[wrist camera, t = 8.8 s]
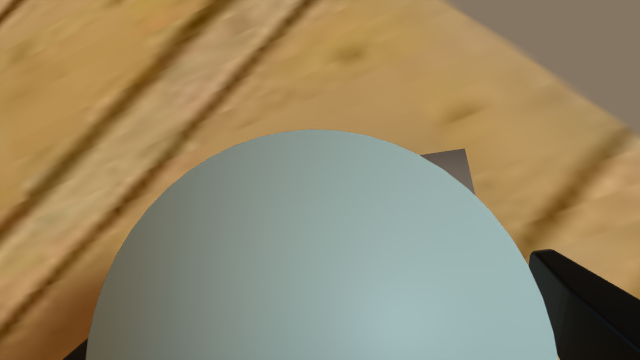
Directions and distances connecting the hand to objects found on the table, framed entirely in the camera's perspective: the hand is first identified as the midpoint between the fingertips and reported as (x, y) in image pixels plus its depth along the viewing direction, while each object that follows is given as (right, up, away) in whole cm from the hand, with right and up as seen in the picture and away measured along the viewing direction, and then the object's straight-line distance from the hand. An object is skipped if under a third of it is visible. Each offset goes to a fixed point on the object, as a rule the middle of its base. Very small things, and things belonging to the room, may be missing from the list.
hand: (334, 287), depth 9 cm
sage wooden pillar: (+1, -3, +8) cm, 9 cm away
